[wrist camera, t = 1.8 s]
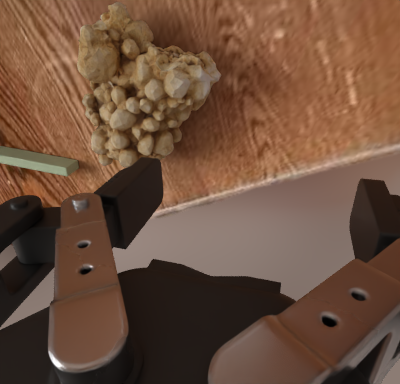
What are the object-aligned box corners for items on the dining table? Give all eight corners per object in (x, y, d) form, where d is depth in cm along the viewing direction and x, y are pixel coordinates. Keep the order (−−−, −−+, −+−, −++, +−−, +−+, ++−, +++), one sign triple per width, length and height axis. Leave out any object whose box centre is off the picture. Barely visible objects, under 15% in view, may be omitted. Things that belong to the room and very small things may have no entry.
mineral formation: (238, 64, 30) (176, 185, 38) (128, -2, 32) (89, 125, 40) (208, 63, 23) (138, 212, 31) (70, -21, 25) (35, 138, 33)
